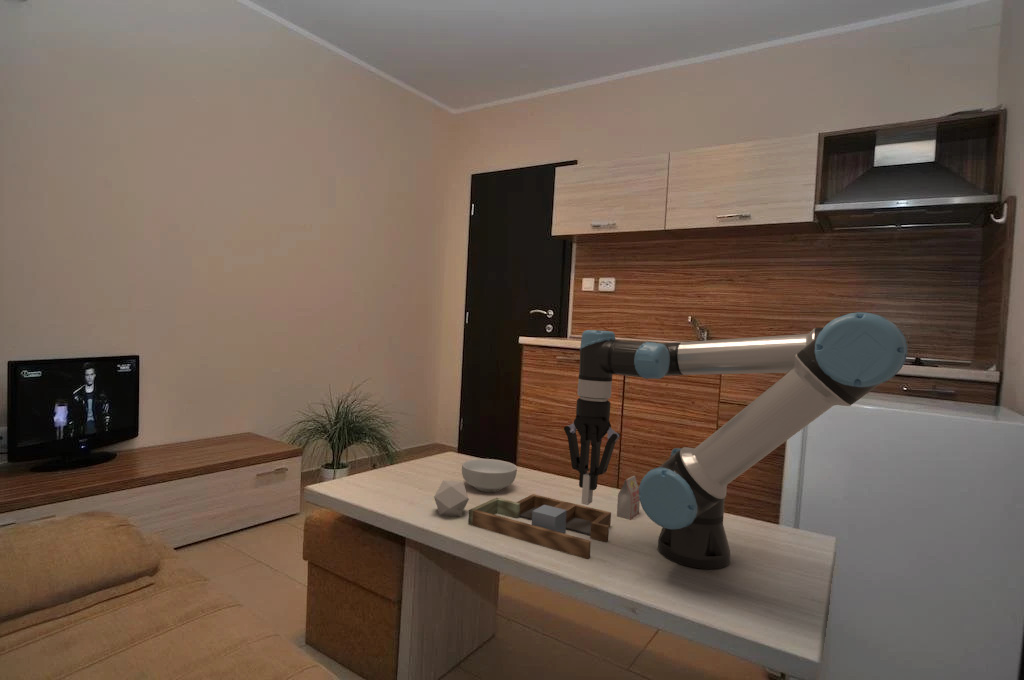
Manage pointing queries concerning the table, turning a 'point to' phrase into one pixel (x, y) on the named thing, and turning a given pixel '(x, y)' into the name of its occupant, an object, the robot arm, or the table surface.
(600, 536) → the wooden compartment tray
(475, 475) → the cereal bowl
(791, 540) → the table surface
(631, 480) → the gable top carton
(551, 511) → the slate block
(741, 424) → the robot arm
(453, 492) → the die
